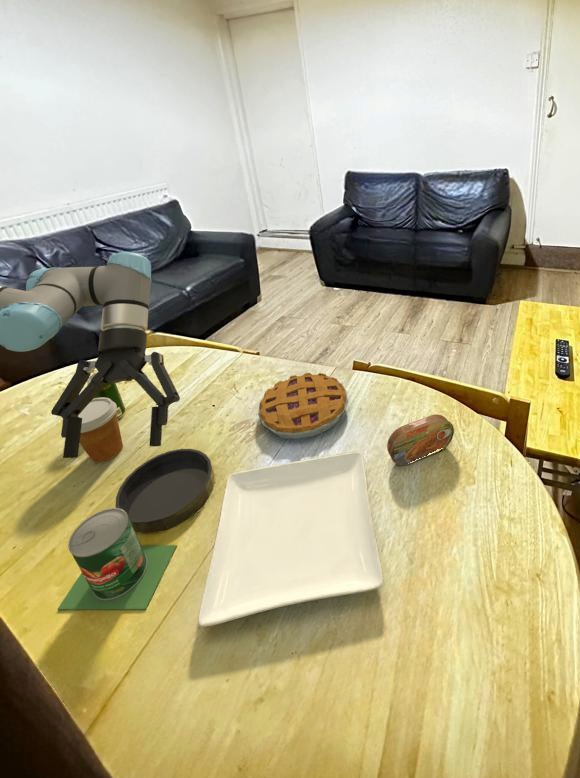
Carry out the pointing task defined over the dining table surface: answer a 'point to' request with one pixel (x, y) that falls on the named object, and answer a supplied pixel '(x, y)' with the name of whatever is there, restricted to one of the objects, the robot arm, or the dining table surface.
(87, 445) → the disposable coffee cup
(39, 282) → the robot arm
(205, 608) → the square plate
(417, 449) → the tin
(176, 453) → the pan
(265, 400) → the pie
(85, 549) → the canned tomato
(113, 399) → the beer can
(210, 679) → the dining table surface
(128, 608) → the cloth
